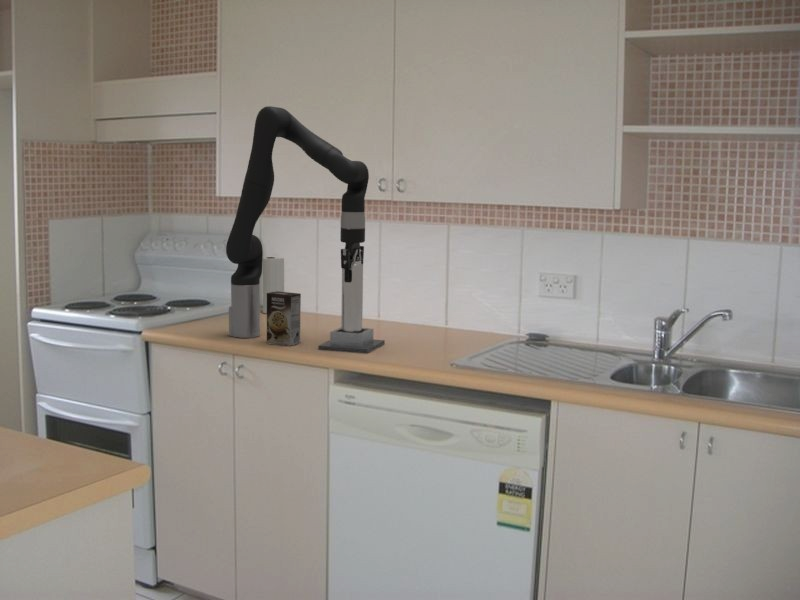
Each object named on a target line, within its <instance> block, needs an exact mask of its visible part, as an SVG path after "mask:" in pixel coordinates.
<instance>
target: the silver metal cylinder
mask: <svg viewBox="0 0 800 600" xmlns="http://www.w3.org/2000/svg"><path fill="white" fill-rule="evenodd" d="M344 272H345V270H344V269H343V268H341V315H340V316H341V322H340V324H341V327H340V328H341V332H349V333H361V332H362V328H363V312H364V310H363V308H364V307H363V300H364V298H363V297H364V294H363V293H364V263H363V264H362V263H361V261H359V260H355V263H354V264H353V267H352V282H345V281H344Z"/></svg>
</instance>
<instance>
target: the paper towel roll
mask: <svg viewBox="0 0 800 600" xmlns="http://www.w3.org/2000/svg"><path fill="white" fill-rule="evenodd" d="M277 291H279V292H285V258H282V257H281V258H279V257H274V256H268V257H267V256H266V257H263V260H262V313H263V314H265V315H267V293H270V292H277Z"/></svg>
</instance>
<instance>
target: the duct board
mask: <svg viewBox="0 0 800 600" xmlns="http://www.w3.org/2000/svg"><path fill="white" fill-rule="evenodd" d="M329 332H330V333H329V337H330V339H329V340H328V341H325V342H323V343H321V344H318V346H317V350H319V351H321V350H322V351H333V352H334V351H335V352H343V353H345V352H347V353H359V354H369V353H371V352H373V351H375V350H377V349H378V348H380V347H382V346H384V345H385V340H384V339H374V328H371V327H370V328H368V327H362V332H361V333H349V332H341V327H339V328H336V329H334V330H332V331H329Z"/></svg>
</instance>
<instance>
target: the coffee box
mask: <svg viewBox="0 0 800 600" xmlns="http://www.w3.org/2000/svg"><path fill="white" fill-rule="evenodd" d="M301 295H302V293H297V292H289V291H284V292H279V291H277V292H270V293H267V314H266V344H269V343H270V345H277V344H278V345H277V346H285V345H287V346H286V347H292V346H295V344H296V345H299V344H301V308H302V307H301V305H302V304H301V301H302V300H301V297H302V296H301ZM298 343H299V344H298ZM291 345H292V346H291Z"/></svg>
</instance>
